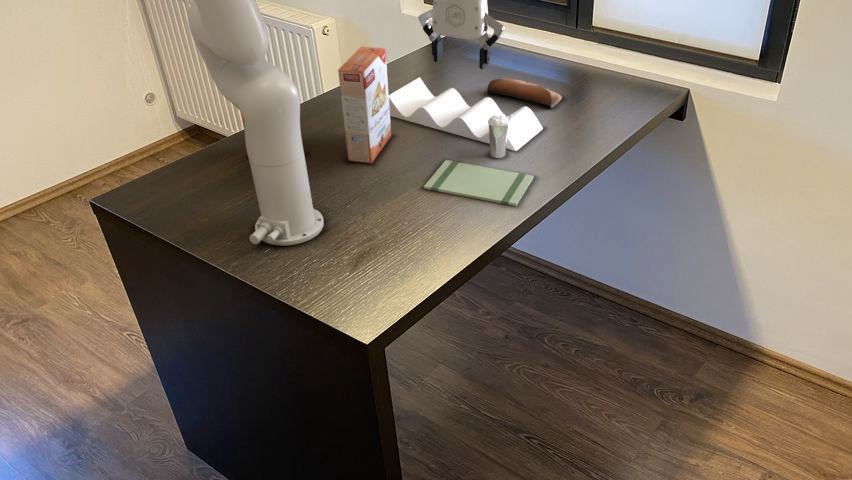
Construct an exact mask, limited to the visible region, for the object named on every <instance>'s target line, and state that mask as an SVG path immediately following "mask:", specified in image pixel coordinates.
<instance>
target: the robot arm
mask: <svg viewBox="0 0 852 480" xmlns="http://www.w3.org/2000/svg"><path fill="white" fill-rule="evenodd" d="M488 7H489V6H488V0H432V9H429V10H427V11H425V12H422V13H421V14H419V15H418V20H419V23H420V25H421V27H422V31H423V32H424V33H425V34H426V35H427V37H428V39H429V42H431V55H432V56H433V62H435V63H438V62H440V60H442V59H443V57H444V41H443V37H442V36H444V37H450V38H456V39H463V40H472V41H473V40H474V41H476V40H477V42H478V43H479V45H480V46H481V47H480V49H479V61H478V62H479V65H478V68H479V69H480V70H484V69H485V68H486V67H487V66H488V65H489V64H490V62H491V46H493V45H494V43H496V42H497V41H498V40H499V39H500V38H501V35H503V32H504V30H505V26H504V24H502V23H501V22H499V21H498V20H496V19H495V18H494V17H492V16H491V15H489V9H488ZM429 19H431V23H430V20H429ZM187 23H188V28H189V31H190V34H191V37H192V39H193V41H194V43H195V45H196V48H197V49H198V52H199V54H200V56H201V58H202V60H203V62H204V64H205V66H206V69H207V70H208V72H209V75H210V76H211V79H212V81H213V82H214V84H215V86H216V88H217V90H218V91H219V92H220V94H221V95H222V96H223V97H224V98H225V99H226V100H227V101H228V102H230V103H231V105H233V106H235V108H236V109H237V110H239V111H240V113H241V112H242V114H243V117H244V120H245V131H244V142H245V148H246V153H247V157H248V161H249V165H250V171H251V176H252V181H253V185H254V189H255V194H256V198H257V204H258V208H259V213H260V216H259V217H258V219H257V220H256V222H255V224H254V232H253V233H252V234H250V235H249V238H248V239H249V241H250V242H251V243H252V244H253V245H258V244H259V243H260V242H261V241H262V242H263V243H266V244H269V245H272V246H281V247H282V246H283V247H284V246H285V247H287V246H295V245H299V244H303V243H305V242H308V241H310V240H313V239H314V238H315V237H317V236H318V235H319V234H320V233H321V232H322V230H323V229H324V226H325V222H324V216H323V214H322V213H321V212H320V211H319V210H317V209H315V208H314V205H313V199H312V193H311V186H310V181H309V174H308V168H307V163H306V157H305V151H304V145H303V138H302V131H301V97H300V93H299V90H298V88H297V86H296V84H295V83H294V81H293V80H292V79H291V78H290V77H289V76H288V75H287V74H286V73H285V72H284V71H283V70H282V69H280V68H278V67H277V66H276V65H274V64H273V63H271V62H269V61H267V60H266V59H265V57H266V56H267V53H268V52H269V48H270V36H269V35H270V34H269V30H268V27H267V24H266V22H265V20H264V17H263V15H262V13H261V10H260V8H259V4H258V3H257V0H192V1H191V2H190V5H189V8H188V12H187ZM489 28H491V29H493V34H492V35H491V36H490V35H489V34H488V29H489Z"/></svg>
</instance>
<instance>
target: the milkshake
mask: <svg viewBox="0 0 852 480" xmlns="http://www.w3.org/2000/svg"><path fill="white" fill-rule="evenodd" d="M505 116H506V115H505ZM505 116H503V115H493V116H492V117H490V118H489V120H488V127H489V139H490V144H489V152H490V156H491V158H494V159H501V158H505V156H506V152H507V149H506V144H507V134H508V126H509V120H510V119H509V120H508V119H507V118H506V117H505ZM510 118H511V117H510Z"/></svg>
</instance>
